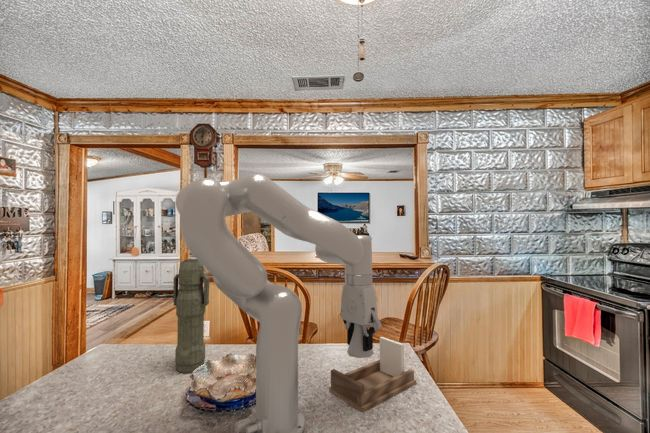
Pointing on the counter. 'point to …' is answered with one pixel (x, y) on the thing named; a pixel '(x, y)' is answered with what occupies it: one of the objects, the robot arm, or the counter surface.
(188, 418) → the counter surface
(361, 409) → the wooden crate tray
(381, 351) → the rectangular block
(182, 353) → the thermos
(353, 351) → the flask
